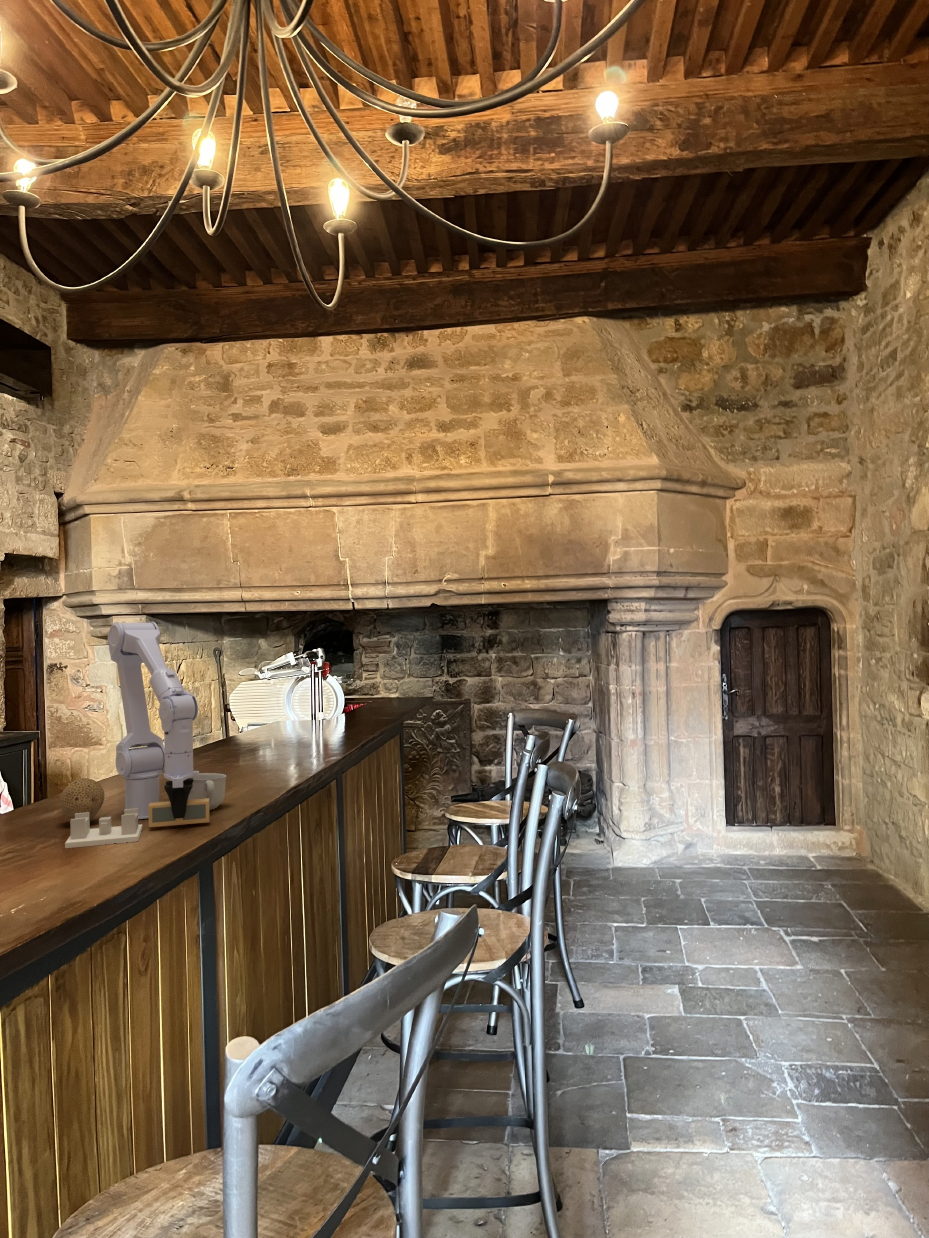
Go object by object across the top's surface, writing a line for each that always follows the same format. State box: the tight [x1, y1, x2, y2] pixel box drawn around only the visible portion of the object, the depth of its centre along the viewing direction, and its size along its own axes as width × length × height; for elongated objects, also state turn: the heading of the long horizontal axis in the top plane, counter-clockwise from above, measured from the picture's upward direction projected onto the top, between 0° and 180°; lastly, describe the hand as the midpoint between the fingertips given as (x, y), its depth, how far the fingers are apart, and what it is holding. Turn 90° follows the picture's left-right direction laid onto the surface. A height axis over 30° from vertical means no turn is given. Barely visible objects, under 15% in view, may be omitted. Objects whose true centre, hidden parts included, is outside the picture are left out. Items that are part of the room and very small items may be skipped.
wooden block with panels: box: [148, 798, 210, 828], centre depth 170 cm, size 4×12×4 cm, turn 108°
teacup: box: [188, 772, 227, 811], centre depth 186 cm, size 14×11×8 cm
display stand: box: [64, 808, 143, 849], centre depth 161 cm, size 11×13×5 cm
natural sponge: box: [59, 777, 106, 821], centre depth 174 cm, size 9×9×10 cm
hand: (179, 815), depth 170 cm, fingers closed on wooden block with panels, 3 cm apart
